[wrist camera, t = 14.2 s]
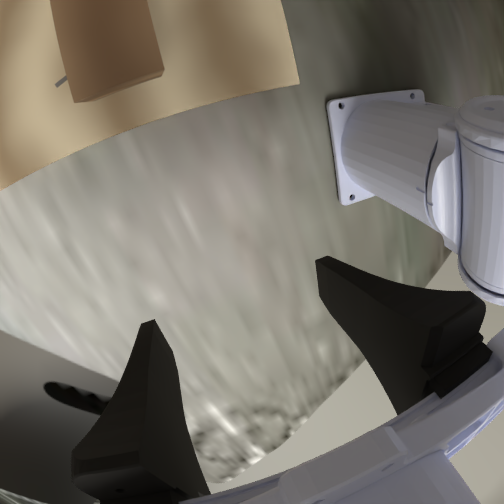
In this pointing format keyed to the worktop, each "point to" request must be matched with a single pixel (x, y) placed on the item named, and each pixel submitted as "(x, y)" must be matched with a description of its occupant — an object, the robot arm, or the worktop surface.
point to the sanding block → (106, 45)
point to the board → (139, 96)
